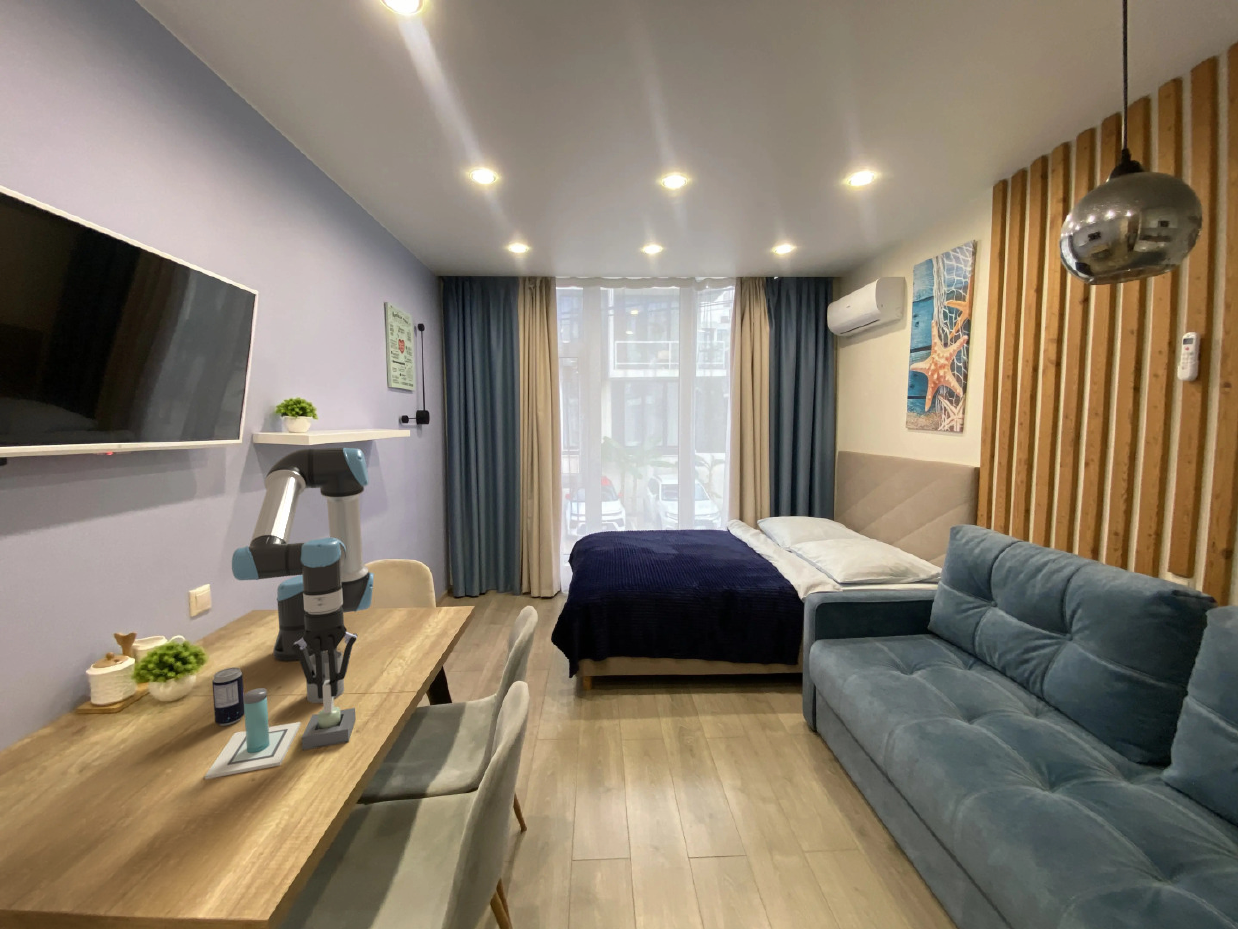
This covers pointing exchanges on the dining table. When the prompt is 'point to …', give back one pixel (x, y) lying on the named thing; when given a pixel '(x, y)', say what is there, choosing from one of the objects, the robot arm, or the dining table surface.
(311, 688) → the cup
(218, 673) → the beverage can
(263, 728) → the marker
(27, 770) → the dining table surface
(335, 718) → the button
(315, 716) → the button housing
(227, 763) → the picture board
